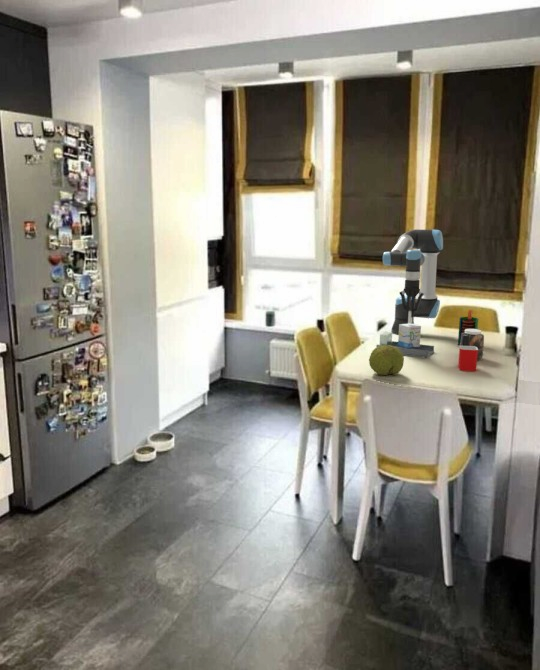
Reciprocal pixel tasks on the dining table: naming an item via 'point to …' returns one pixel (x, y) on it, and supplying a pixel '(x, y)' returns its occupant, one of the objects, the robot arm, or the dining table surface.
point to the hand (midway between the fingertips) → (410, 323)
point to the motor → (467, 324)
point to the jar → (473, 341)
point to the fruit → (386, 360)
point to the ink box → (409, 335)
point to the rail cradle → (414, 351)
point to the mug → (467, 358)
